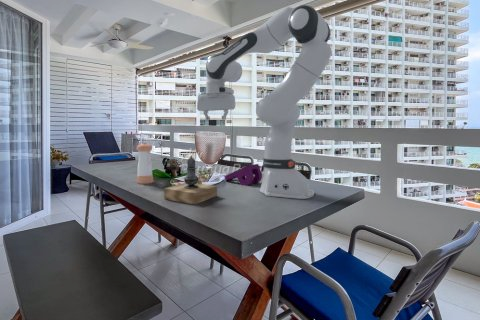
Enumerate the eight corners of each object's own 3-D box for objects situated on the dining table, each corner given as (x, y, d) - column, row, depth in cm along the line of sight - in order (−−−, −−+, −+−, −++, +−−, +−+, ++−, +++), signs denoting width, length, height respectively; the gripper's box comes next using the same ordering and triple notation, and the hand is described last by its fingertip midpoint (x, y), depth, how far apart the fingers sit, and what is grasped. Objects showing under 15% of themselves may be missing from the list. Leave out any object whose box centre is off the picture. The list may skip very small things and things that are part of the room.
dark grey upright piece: (198, 189, 100) (198, 156, 99) (182, 188, 100) (182, 156, 99) (200, 185, 106) (200, 155, 105) (184, 185, 106) (184, 154, 105)
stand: (216, 196, 106) (217, 186, 106) (194, 204, 94) (194, 193, 94) (188, 191, 113) (188, 182, 113) (164, 198, 101) (164, 188, 101)
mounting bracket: (226, 194, 135) (253, 182, 125) (220, 178, 137) (246, 165, 126) (237, 190, 143) (264, 180, 132) (232, 175, 144) (258, 163, 134)
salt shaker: (140, 184, 126) (139, 143, 124) (134, 182, 131) (133, 142, 129) (155, 182, 131) (154, 142, 129) (149, 180, 136) (148, 142, 134)
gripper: (194, 91, 133) (194, 120, 134) (230, 88, 123) (230, 118, 124) (201, 93, 138) (202, 120, 140) (236, 90, 129) (236, 119, 130)
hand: (215, 119), depth 132 cm, fingers open, 8 cm apart
